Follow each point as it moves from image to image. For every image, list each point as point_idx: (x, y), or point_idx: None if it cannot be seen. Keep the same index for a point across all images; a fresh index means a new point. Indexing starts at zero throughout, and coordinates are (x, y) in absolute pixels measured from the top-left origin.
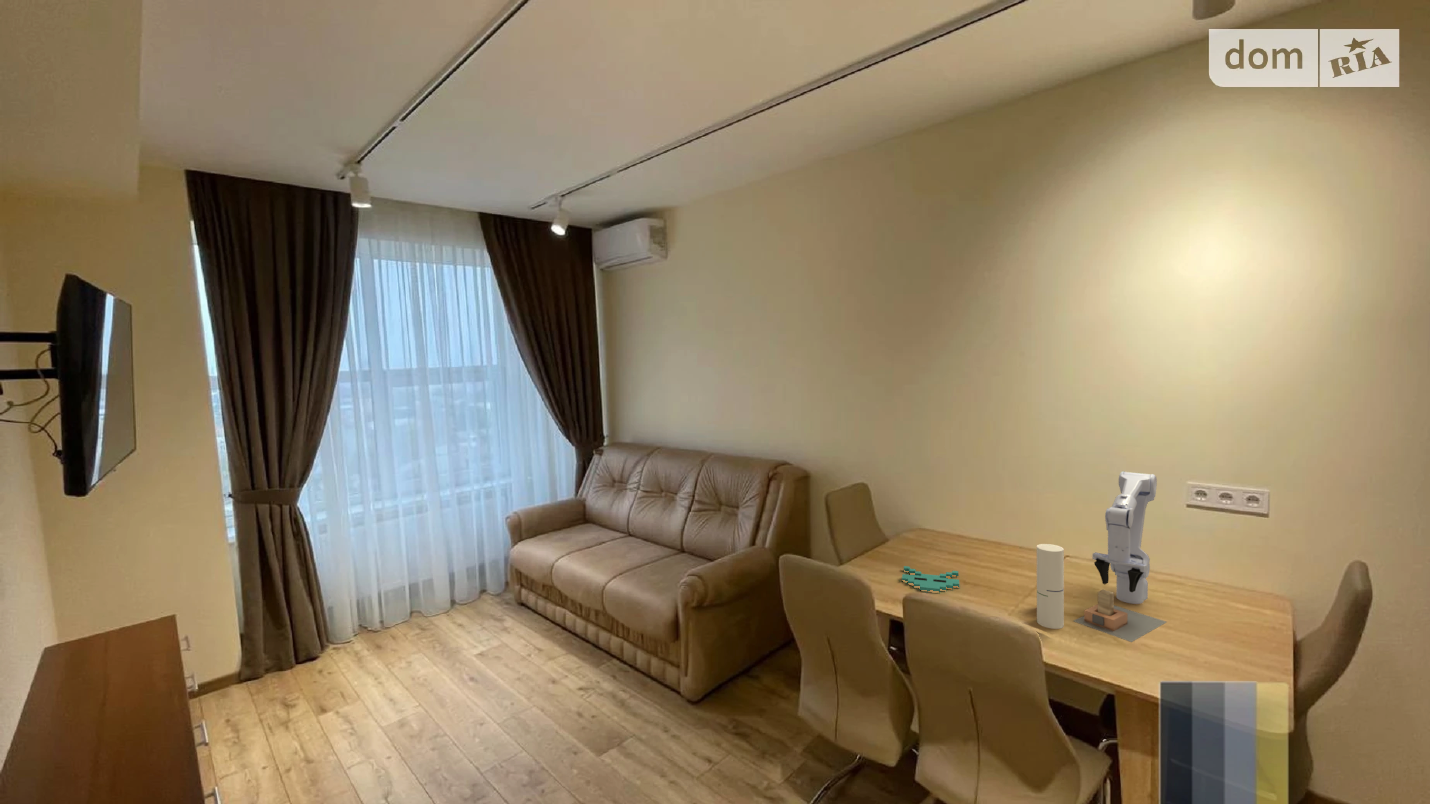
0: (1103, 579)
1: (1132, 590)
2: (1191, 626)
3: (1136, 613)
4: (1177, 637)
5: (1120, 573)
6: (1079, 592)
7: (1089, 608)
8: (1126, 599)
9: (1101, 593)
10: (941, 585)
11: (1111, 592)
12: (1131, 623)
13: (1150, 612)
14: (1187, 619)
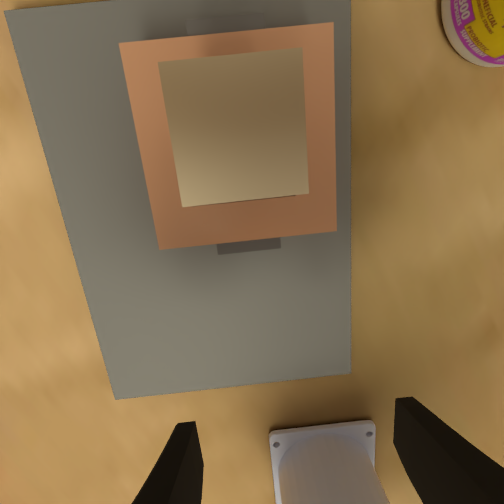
0: (432, 430)
1: (170, 440)
2: (77, 446)
3: (227, 374)
4: (20, 315)
5: None
6: (494, 391)
7: (329, 97)
8: (319, 452)
9: (253, 57)
10: None
11: (194, 183)
12: (168, 254)
13: (225, 440)
14: (125, 485)
